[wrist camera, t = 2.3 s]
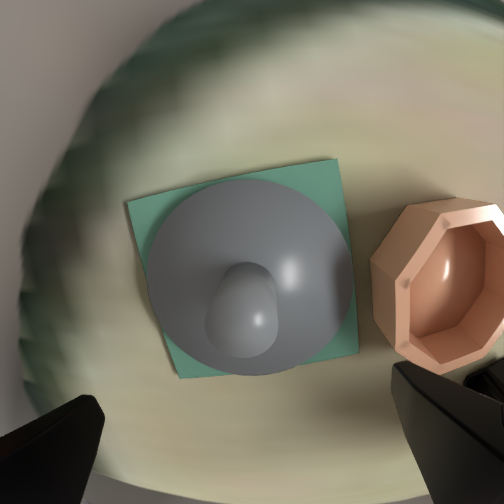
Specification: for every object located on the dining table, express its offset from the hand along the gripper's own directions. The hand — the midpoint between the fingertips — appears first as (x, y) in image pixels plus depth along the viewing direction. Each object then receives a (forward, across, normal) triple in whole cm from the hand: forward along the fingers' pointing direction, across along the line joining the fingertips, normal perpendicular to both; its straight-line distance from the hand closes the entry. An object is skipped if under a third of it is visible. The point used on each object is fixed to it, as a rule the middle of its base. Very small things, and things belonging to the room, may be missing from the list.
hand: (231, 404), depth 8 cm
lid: (+10, 0, 0) cm, 10 cm away
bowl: (+10, -12, +2) cm, 16 cm away
